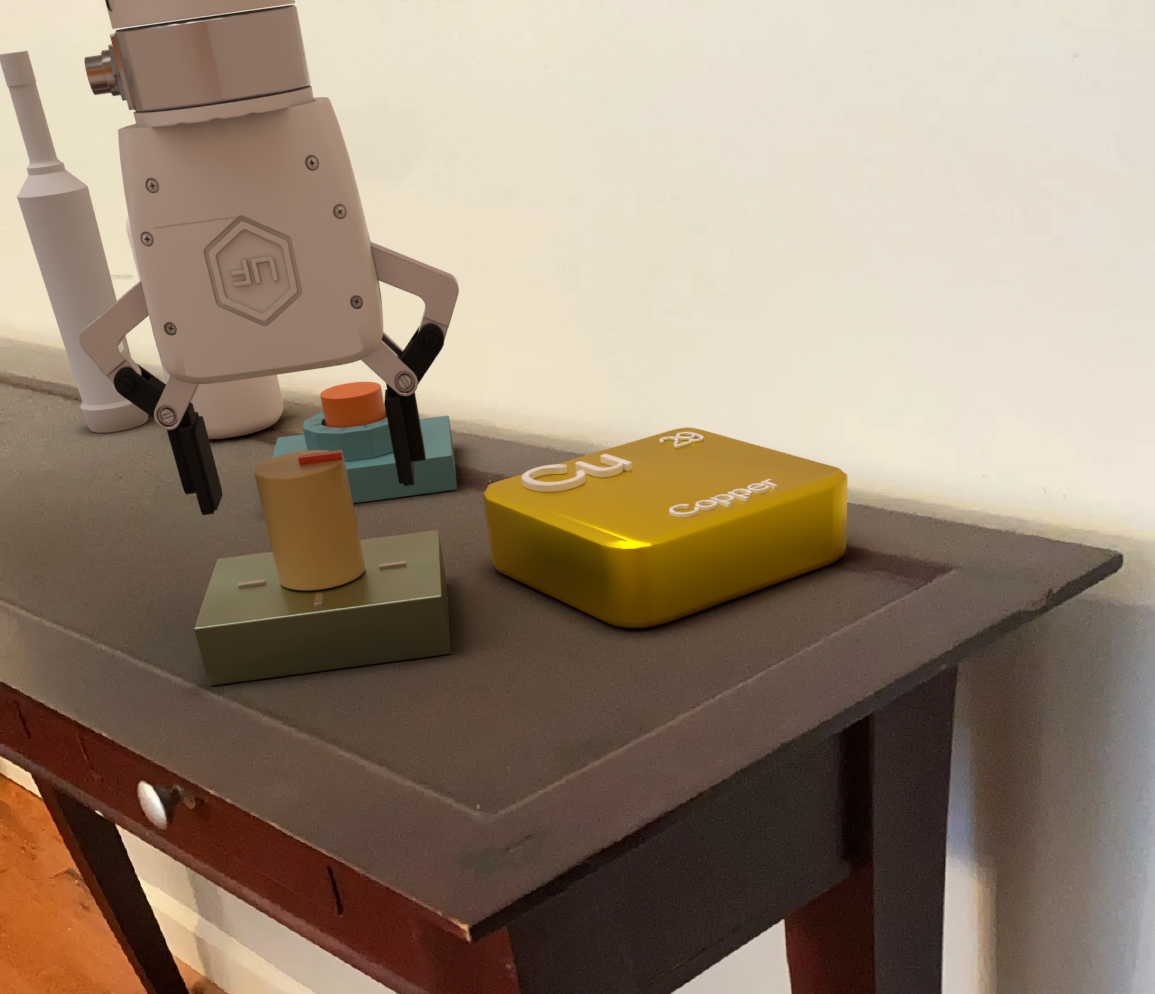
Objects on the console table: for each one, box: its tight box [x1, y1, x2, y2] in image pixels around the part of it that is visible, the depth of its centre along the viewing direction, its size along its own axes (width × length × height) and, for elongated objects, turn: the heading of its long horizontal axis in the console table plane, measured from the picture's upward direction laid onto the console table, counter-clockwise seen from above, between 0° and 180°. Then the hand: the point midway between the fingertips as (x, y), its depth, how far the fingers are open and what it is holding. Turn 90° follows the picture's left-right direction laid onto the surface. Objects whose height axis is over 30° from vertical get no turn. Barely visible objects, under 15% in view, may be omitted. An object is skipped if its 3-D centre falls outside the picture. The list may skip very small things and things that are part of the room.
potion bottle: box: [125, 215, 285, 440], centre depth 104 cm, size 8×8×18 cm
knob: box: [253, 450, 365, 590], centre depth 70 cm, size 4×4×6 cm
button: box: [319, 381, 387, 428], centre depth 92 cm, size 4×4×2 cm
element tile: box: [482, 426, 848, 629], centre depth 75 cm, size 15×15×5 cm
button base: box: [271, 402, 458, 504], centre depth 93 cm, size 12×10×4 cm
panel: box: [193, 529, 452, 687], centre depth 72 cm, size 12×10×3 cm
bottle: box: [0, 50, 149, 434], centre depth 107 cm, size 5×5×25 cm
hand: (310, 492), depth 69 cm, fingers open, 9 cm apart
